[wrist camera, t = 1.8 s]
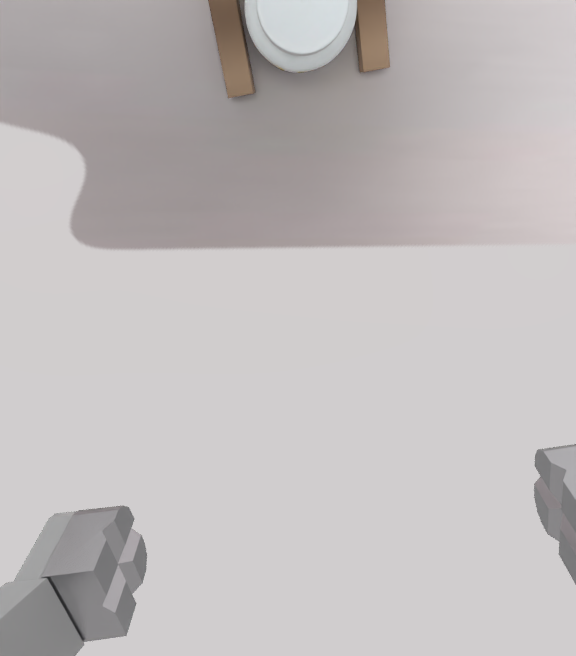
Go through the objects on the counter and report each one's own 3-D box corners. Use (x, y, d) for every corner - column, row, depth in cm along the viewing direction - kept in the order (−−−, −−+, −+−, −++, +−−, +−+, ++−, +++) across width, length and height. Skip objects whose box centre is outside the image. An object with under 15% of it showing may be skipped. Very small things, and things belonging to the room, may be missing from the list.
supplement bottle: (246, 63, 32) (229, 58, 23) (260, -42, 29) (247, -92, 21) (333, 80, 32) (348, 82, 23) (353, -22, 30) (379, -62, 21)
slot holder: (384, 67, 32) (389, 67, 30) (231, 97, 32) (228, 98, 30) (370, -95, 28) (375, -107, 26) (200, -58, 29) (194, -67, 27)
